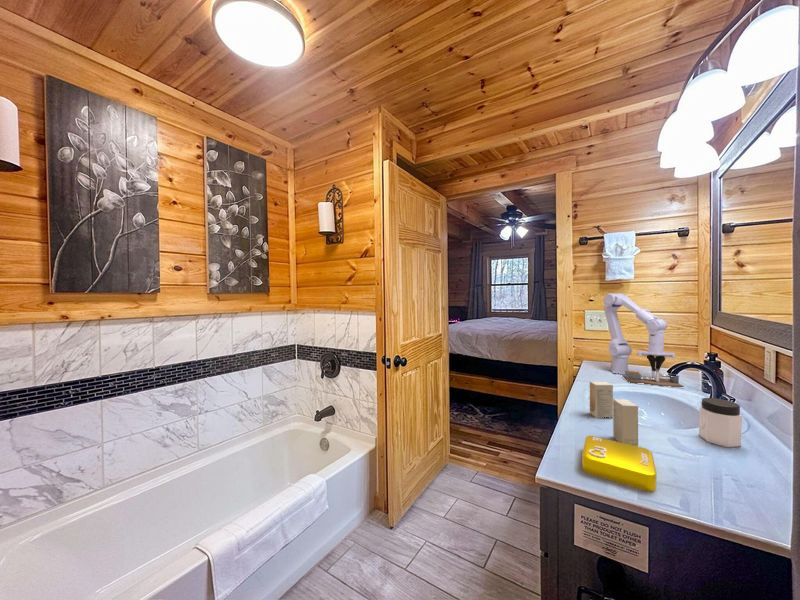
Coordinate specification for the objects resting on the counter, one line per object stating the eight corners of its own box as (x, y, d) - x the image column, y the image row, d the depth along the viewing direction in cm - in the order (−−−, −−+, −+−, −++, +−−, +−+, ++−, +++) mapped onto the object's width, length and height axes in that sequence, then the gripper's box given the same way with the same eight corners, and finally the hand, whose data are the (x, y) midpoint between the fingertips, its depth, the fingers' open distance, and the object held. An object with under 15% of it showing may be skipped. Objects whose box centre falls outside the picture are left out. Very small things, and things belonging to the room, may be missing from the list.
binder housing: (625, 376, 160) (625, 369, 160) (637, 377, 158) (637, 370, 158) (628, 379, 155) (628, 372, 155) (640, 380, 153) (641, 373, 153)
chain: (629, 376, 160) (630, 365, 160) (653, 378, 156) (654, 367, 156) (633, 379, 154) (634, 368, 154) (658, 381, 150) (659, 370, 150)
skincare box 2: (638, 447, 91) (639, 406, 91) (621, 445, 92) (622, 405, 92) (627, 437, 97) (628, 399, 97) (611, 435, 98) (612, 398, 98)
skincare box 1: (606, 413, 116) (607, 381, 115) (613, 418, 111) (614, 384, 111) (588, 413, 116) (589, 380, 116) (594, 417, 112) (595, 384, 111)
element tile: (657, 495, 71) (657, 475, 70) (581, 473, 79) (581, 454, 79) (651, 464, 83) (651, 447, 83) (585, 448, 91) (586, 432, 91)
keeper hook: (656, 379, 155) (656, 371, 155) (674, 381, 152) (674, 372, 152) (660, 382, 151) (660, 373, 151) (678, 383, 148) (678, 375, 148)
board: (622, 376, 163) (622, 375, 163) (672, 381, 156) (672, 379, 156) (629, 383, 152) (629, 381, 152) (683, 388, 145) (683, 386, 145)
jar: (694, 432, 101) (695, 395, 100) (726, 436, 98) (728, 398, 97) (710, 445, 92) (711, 405, 92) (746, 450, 89) (748, 409, 89)
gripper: (641, 343, 152) (640, 371, 152) (678, 345, 146) (677, 374, 147) (636, 341, 158) (635, 367, 159) (671, 343, 153) (671, 370, 153)
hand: (655, 370), depth 153 cm, fingers closed on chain
